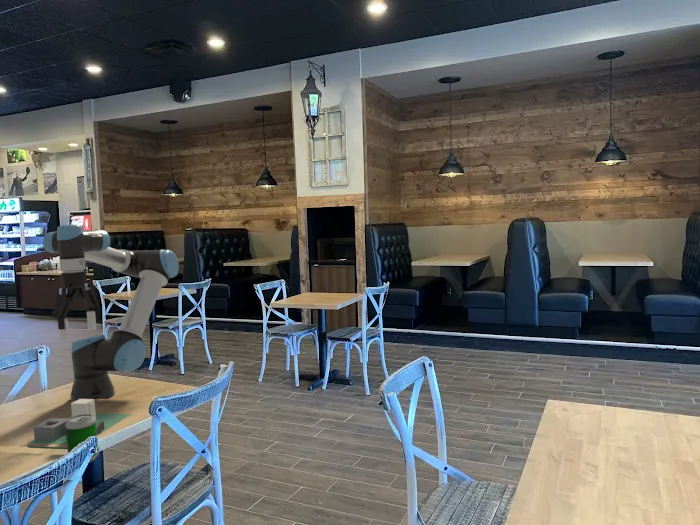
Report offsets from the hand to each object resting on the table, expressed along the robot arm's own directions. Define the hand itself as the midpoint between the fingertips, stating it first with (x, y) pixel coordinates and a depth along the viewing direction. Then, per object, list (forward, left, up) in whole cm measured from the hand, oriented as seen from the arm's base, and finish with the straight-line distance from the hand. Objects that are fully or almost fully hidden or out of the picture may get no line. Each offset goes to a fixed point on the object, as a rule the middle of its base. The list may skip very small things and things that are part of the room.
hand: (79, 334), depth 176 cm
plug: (+16, +12, -27) cm, 34 cm away
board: (+12, +8, -29) cm, 32 cm away
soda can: (+30, +22, -29) cm, 47 cm away
